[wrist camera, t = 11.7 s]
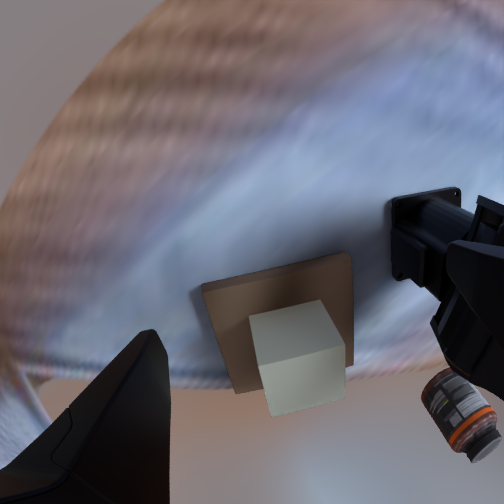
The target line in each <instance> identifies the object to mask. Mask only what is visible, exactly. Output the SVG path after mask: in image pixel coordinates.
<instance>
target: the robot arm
mask: <svg viewBox="0 0 504 504" xmlns="http://www.w3.org/2000/svg"><path fill="white" fill-rule="evenodd" d="M455 192H456V195H455ZM399 202H400V206H399V207H397V204H398V203H399ZM476 203H477V207H476V211H475V214H473V213H471V212H469V211H466V210H464V209H462V208H461V190H460V189H459V188H457V187H450V188H444V189H439V190H433V191H428V192H422V193H417V194H411V195H406V196H401V197H396V198H394V199H393V201H392V205H391V206H392V229H391V262H392V276H393V278H394V279H395V280H396V281H401V280H405V279H408V278H410V279H411V280H412V281H413V282H414V283H415V284H417V285H418V286H419V287H420V288H422V287H425V288H426V289H427V290H428V291H429V292H430V293H431V294H433V295H434V296H435V297H436V298H437V299H438V300H439V301H440V302H441V304H440V306H439V308H438V310H437V312H436V314H435V315H434V316H433V317H432V319H431V322H430V325H431V327H432V329H433V331H434V334H435V336H436V338H437V340H438V343H439V345H440V347H441V350H442V352H443V354H444V357H445V359H446V361H447V363H448V365H449V366H450V368H451V370H452V371H454V372H456V373H457V374H458V375H459V376H461V377H462V378H463V379H465V380H467V381H468V382H469V383H471V384H473V385H476V386H479V387H481V388H484V389H486V390H488V391H489V392H491V393H493V394H495V395H496V396H498V397H499V398H500V399H502V400H503V401H504V205H502V204H500V203H497V202H495V201H493V200H490V199H488V198H485V197H483V196H480V195H478V199H477V202H476ZM399 273H400V274H399ZM398 274H399V275H398ZM397 275H398V276H397ZM170 418H171V396H170V381H169V366H168V355H167V352H166V350H165V348H164V346H163V344H162V342H161V340H160V338H159V336H158V334H157V332H156V331H155V330H154V329H149V330H145V331H141V332H140V333H139V334H138V335H137V336H136V337H135V338H134V339H133V340H132V341H131V342H130V343H129V344H128V345H127V346H126V347H125V348H124V349H123V350H122V351H121V352H120V353H119V354H118V355H117V356H116V357H115V358H114V359H113V360H112V361H111V362H110V363H109V364H108V365H107V366H106V367H105V368H104V370H103V371H102V372H101V373H100V374H99V375H98V376H97V377H96V378H95V379H94V380H93V381H92V382H91V383H90V384H89V385H88V387H86V388H85V389H84V391H83V392H82V393H81V394H80V395H79V396H78V397H77V398H76V399H75V400H74V401H73V402H72V403H71V404H70V405H69V408H66V409H65V410H64V412H63V413H62V414H61V415H60V416H59V417H58V418H57V419H56V420H55V421H54V422H53V423H52V424H51V425H50V426H49V427H48V428H47V429H46V430H45V431H44V432H43V433H42V434H41V435H40V436H39V437H38V438H36V439H35V440H34V441H33V442H32V443H31V444H30V445H29V446H28V447H27V448H26V449H25V450H23V451H22V452H21V453H20V454H19V455H18V456H17V457H16V458H15V459H14V460H13V461H12V462H10V463H9V464H8V465H7V466H6V467H4V468H2V469H1V470H0V504H170V489H169V488H170V487H169V484H170V483H169V469H170V466H169V465H170V464H169V463H170Z"/></svg>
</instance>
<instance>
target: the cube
mask: <svg viewBox="0 0 504 504" xmlns="http://www.w3.org/2000/svg"><path fill="white" fill-rule="evenodd" d="M249 321H250V326H251V331H252V337H253V342H254V347H255V352H256V358H257V363H258V368H259V372H260V376H261V379H262V383H263V387H264V391H265V395H266V399H267V403H268V407H269V411H270V414H271V417H275V416H279V415H284V414H288V413H292V412H297V411H300V410H305V409H309V408H312V407H316V406H320V405H323V404H327V403H331V402H334V401H337V400H340V399H344V398H345V343H344V341H343V339H342V337H341V336H340V334H339V332H338V330H337V328H336V327H335V325H334V323H333V321H332V319H331V318H330V316H329V314H328V312H327V310H326V309H325V307H324V305H323V303H322V302H321V300H320V299H319V300H315V301H311V302H307V303H303V304H299V305H295V306H290V307H286V308H282V309H277V310H273V311H269V312H264V313H260V314H255V315H250V316H249Z"/></svg>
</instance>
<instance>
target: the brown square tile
mask: <svg viewBox="0 0 504 504" xmlns="http://www.w3.org/2000/svg"><path fill="white" fill-rule="evenodd" d="M202 294H203V298H204V301H205V304H206V307H207V311H208V314H209V317H210V320H211V323H212V326H213V329H214V332H215V335H216V338H217V341H218V344H219V347H220V350H221V353H222V356H223V359H224V362H225V365H226V368H227V371H228V374H229V377H230V379H231V382H232V385H233V388H234V391H235V393H236V394H240V393H245V392H250V391H255V390H259V389H264V387H263V383H262V379H261V376H260V372H259V368H258V363H257V358H256V352H255V347H254V342H253V337H252V331H251V326H250V321H249V316H250V315H255V314H260V313H264V312H269V311H273V310H277V309H282V308H286V307H290V306H295V305H299V304H303V303H307V302H311V301H315V300H319V299H320V300H321V302H322V303H323V305H324V307H325V309H326V310H327V312H328V314H329V316H330V318H331V319H332V321H333V323H334V325H335V327H336V328H337V330H338V332H339V334H340V336H341V337H342V339H343V341H344V343H345V368H346V367H349V366H352V365H354V311H353V279H352V259H351V258H350V256H349V255H348V254H347V253H346V252H341V253H337V254H333V255H329V256H324V257H320V258H316V259H312V260H307V261H303V262H299V263H294V264H290V265H285V266H281V267H277V268H272V269H268V270H263V271H259V272H254V273H250V274H245V275H241V276H236V277H232V278H227V279H223V280H218V281H213V282H209V283H204V284H202Z"/></svg>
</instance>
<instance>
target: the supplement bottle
mask: <svg viewBox="0 0 504 504" xmlns="http://www.w3.org/2000/svg"><path fill="white" fill-rule="evenodd" d="M421 400H422V402H423V404H424V406H425V408H426V409H427V411H428V412H429V414H430V415H431V417H432V418H433V420H434V421H435V423H436V424H437V426H438V428H439V429H440V431H441V432H442V434H443V436H444V437H445V439H446V440H447V442H448V443H449V445H450V447H451V448H452V449H453V450H454V451H455V452H457V453H461V452H464V453H466V454H467V457H468V458H469V459H470V461H471V463H476V462H477V461H480V460H481V459H483V458H484V457H486V456H487V455H488V454H489V453H491V452H492V451H493V450H494V449H495V448H496V447H497V446H498V445H499V443H500V442H501V440H502V436H501V435H500V434H499V432H498V430H496V422H497V415H496V413H495V411H494V410H493V409H492V408H491V406H490V405H489V403H488V402H487V401H486V400H485V399H484V397H483V396H482V395H481V393H480V392H479V391H478V390H477V388H476V387H475V386H474V385H473V384H471V383H469V382H468V381H467V380H465V379H463V378H462V377H461V376H459V375H458V374H457V373H456V372H454V371H452V370H451V368H450V367H449V368H447V369H444V370H443V371H441V372H439V373H438V374H437V375H435V376H434V377H433V378H432V379H431V380H430V381H429V382H428V384H427V385H426V386H425V388H424V390H423V392H422V395H421Z"/></svg>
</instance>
